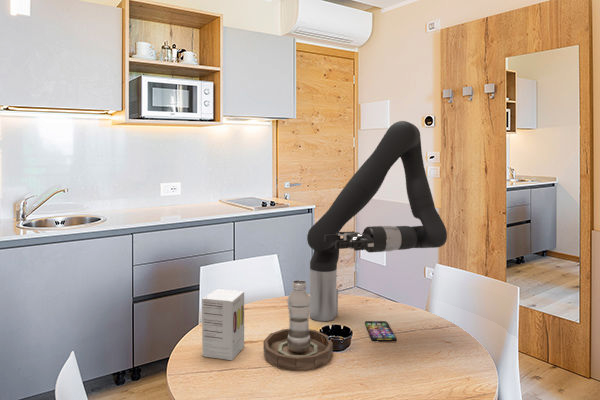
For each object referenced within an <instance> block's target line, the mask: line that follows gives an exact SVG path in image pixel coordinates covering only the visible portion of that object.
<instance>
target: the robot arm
mask: <svg viewBox="0 0 600 400" xmlns="http://www.w3.org/2000/svg"><path fill="white" fill-rule="evenodd" d="M421 139H422V137H421V133H420V129H419V127H417V126H416V125H415V124H414V123H411V122H409V121H406V120H399V121H397V122H394V123H393V124H391V125H390V126H389V127H388V129H387V131H386V132H385V133H384V135H383V136H382V138H381V140H380V141H379V142H378V144H377V146H376V147H375V149H374V150H373V152H372V153H371V155H370V156H368V158H367V159H366V160H365V161H364V162H363V163H362V164H361V166H360V167H359V168H358V170H357V171H356V172H355V173H354V174H353V175H352V176H351V178H350V180H349V181H348V182H347V183H346V184H345V186H344V187H343V188H342V190H341V191H340V192H339V194H338V195H337V197H336V198H335V200H334V201H333V202H332V204H331V205H330V207H329V208H328V209H327V211H326V212H325V213H324V214H323V215H322V216H321V217H320V218H319V219H318V220H317V221H316V222H315V223H314V224H313V225H312V226H311V227H310V229H309V230H308V232H307V236H306V239H307V240H306V241H307V245H308V246H309V248H310V249H312V250H313V254H312V256H311V259H310V260H309V261H310V262H309V297H310V300H311V303H310V310H309V318H310V319H311V320H314V321H318V322H329V321H333V320H335V319H336V317H338V315H339V313H338V312H339V310H338V309H339V288H337V277H338V276H337V275H338V274H337V273H338V271H337V270H338V262H339V260H340V259H339V258H340V250H343V249H346V250H347V249H349V250H353V251H356V252H358V251H366V252H368V253H385V252H393V251H399V250H402V251H403V250H411V249H431V248H432V249H433V248H435V249H436V248H441V247H443V246H444V245H446V242H447V239H448V232H447V231H448V230H447V228H446V226H445V223H444V221H443V220H442V218H441V215H440V214H439V212H438V211H437V209H436V205H435V202H434V198H433V194H432V191H431V188H430V183H429V179H428V177H427V172H426V169H425V163H424V159H423V152H422V151H423V150H422V141H421ZM399 159H401V163H402V166H403V169H404V177H405V187H406V195H407V199H408V202H409V203H408V204H409V206H410V209H411V210H410V211H411V214H412V216H413V217H414V218H415V219H417V220H419V221H420V223H421V225H414V226H408V225H397V226H395V225H375V226H374V225H373V226H366V227H365V228H364V229H363V232H362V233H360V232H359V231H341V230H342V229H343V228H344V226H345V225H346V224H347V223H348V222H349V221H350V220H351V219H353V217H355V216H356V215H357V214H358V213H360V212H361V211H362V209H364V208H365V207H366V206H367V204H369V202H370V201H371V200H372V199H373V197H375V195H376V194H377V193H378V191H379V190H380V189H381V187H382V185H383V183H384V180H385V179H386V177H387V175H388V173H389V172H390V170H391V168H392V167H393V165H394V164H395V163H396V162H397V161H398V160H399ZM341 236H342V238H341Z"/></svg>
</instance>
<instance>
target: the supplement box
mask: <svg viewBox="0 0 600 400" xmlns="http://www.w3.org/2000/svg"><path fill="white" fill-rule="evenodd" d="M201 323H202V324H201V325H202V326H201V329H202V330H201V331H202V333H201V334H202V335H201V336H202V347H201V349H202V350H201V351H202V357H205V358H213V359H218V360H219V359H221V360H225V361H226V360H228V361H233V360H234V359H235V358H236V357H237V356H238V355H239V353H240V352H241V351H242V349H244V348H245V291H243V290H242V291H241V290H234V289H233V290H230V289H223V288H221V289H219V288H218V289H217V288H215V289H214V290H213V291H211V292H210V293H208V294H207V295H206V296H203V298H201Z"/></svg>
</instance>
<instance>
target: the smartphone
mask: <svg viewBox="0 0 600 400" xmlns="http://www.w3.org/2000/svg"><path fill="white" fill-rule="evenodd" d="M364 325H365V327H366V331H367V332H368V335H369V337H370V339H371V342H373V341H396V342H397V337H396V335H395V333H394V331H393V330H392V328H391V326H390V325H389V323H388V322H387V321H386V320H365V322H364Z"/></svg>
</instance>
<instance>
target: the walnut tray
mask: <svg viewBox="0 0 600 400" xmlns="http://www.w3.org/2000/svg"><path fill="white" fill-rule="evenodd" d="M288 334H289V328H283V329H280V330H276V331H274V332H271V333H269V334H268V335H267V337H266V338H265V339H264V340H263V352H264V354H263V355H264V358H265V360H266V362H267V363H268V364H270V365H272V366H274V367H275V368H279V369H281V370H287V371H293V372H295V371H296V372H300V371H311V370H315V369H319V368H321V367H323V366H325V365H327V364H328V363H329V362H330V360H331V359H332V353H333V352H334V351H333V350H334V348H333V347H334V346H333V345H334V343H333V341H332V339H330V340H328V339H327V338H326V337H329V335H327V334H326V333H323V332H321V331H318V330H316V329H310V328H309V335H310V340H311V343H310V348H309V349H308V350H307V351H306V352H303V353H296V352H292V351H291V350H290V349H289V348H288V344H287V338H288ZM321 336H324V337H325V338H326V345H324V344H323V343H322V339H321Z"/></svg>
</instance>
